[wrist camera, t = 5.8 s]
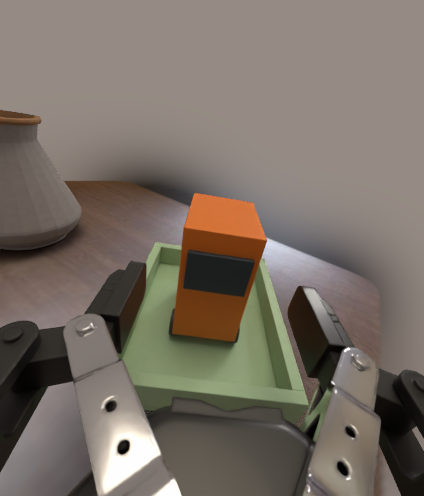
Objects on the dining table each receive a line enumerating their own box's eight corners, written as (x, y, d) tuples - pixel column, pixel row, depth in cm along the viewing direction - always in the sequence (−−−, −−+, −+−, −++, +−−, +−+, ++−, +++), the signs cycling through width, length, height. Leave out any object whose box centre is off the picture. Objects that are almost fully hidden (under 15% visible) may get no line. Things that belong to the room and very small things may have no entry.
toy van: (179, 288, 23) (190, 192, 18) (231, 295, 24) (256, 203, 19) (166, 345, 18) (177, 228, 13) (235, 354, 18) (273, 243, 13)
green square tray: (154, 261, 28) (155, 241, 26) (258, 276, 28) (264, 258, 27) (92, 404, 14) (87, 379, 13) (293, 427, 15) (309, 405, 13)
